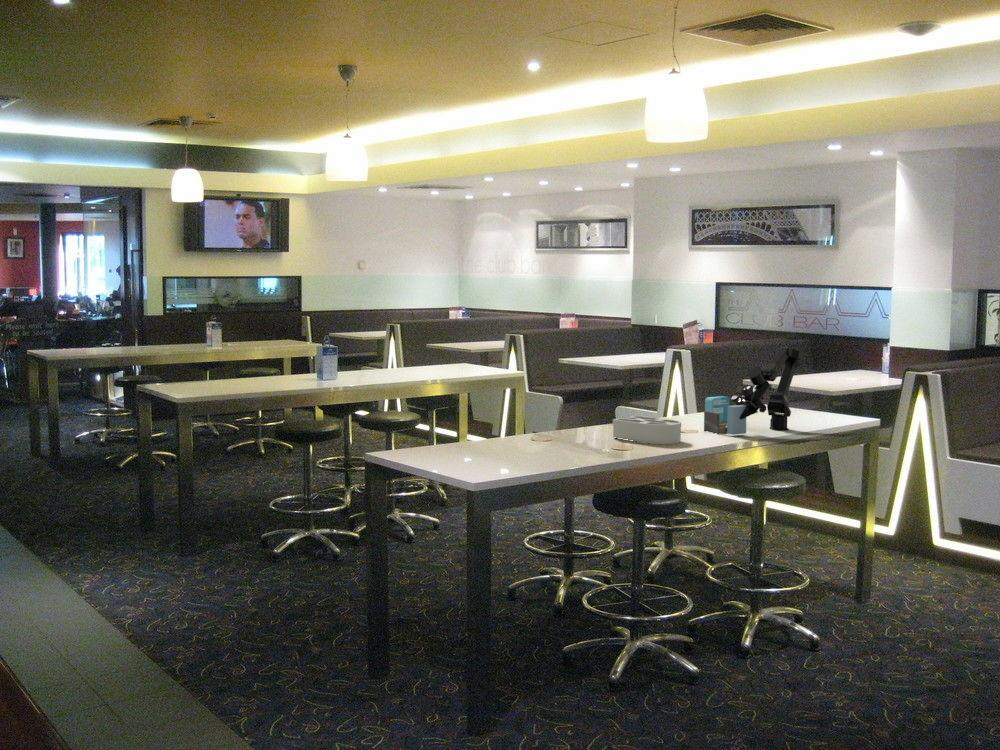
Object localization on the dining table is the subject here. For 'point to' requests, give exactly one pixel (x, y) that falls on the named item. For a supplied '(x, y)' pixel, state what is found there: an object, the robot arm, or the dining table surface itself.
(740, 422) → the blue angular block
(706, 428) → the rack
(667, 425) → the ice cube tray
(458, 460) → the dining table surface
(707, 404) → the data package
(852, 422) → the dining table surface
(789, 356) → the robot arm
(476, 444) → the dining table surface
